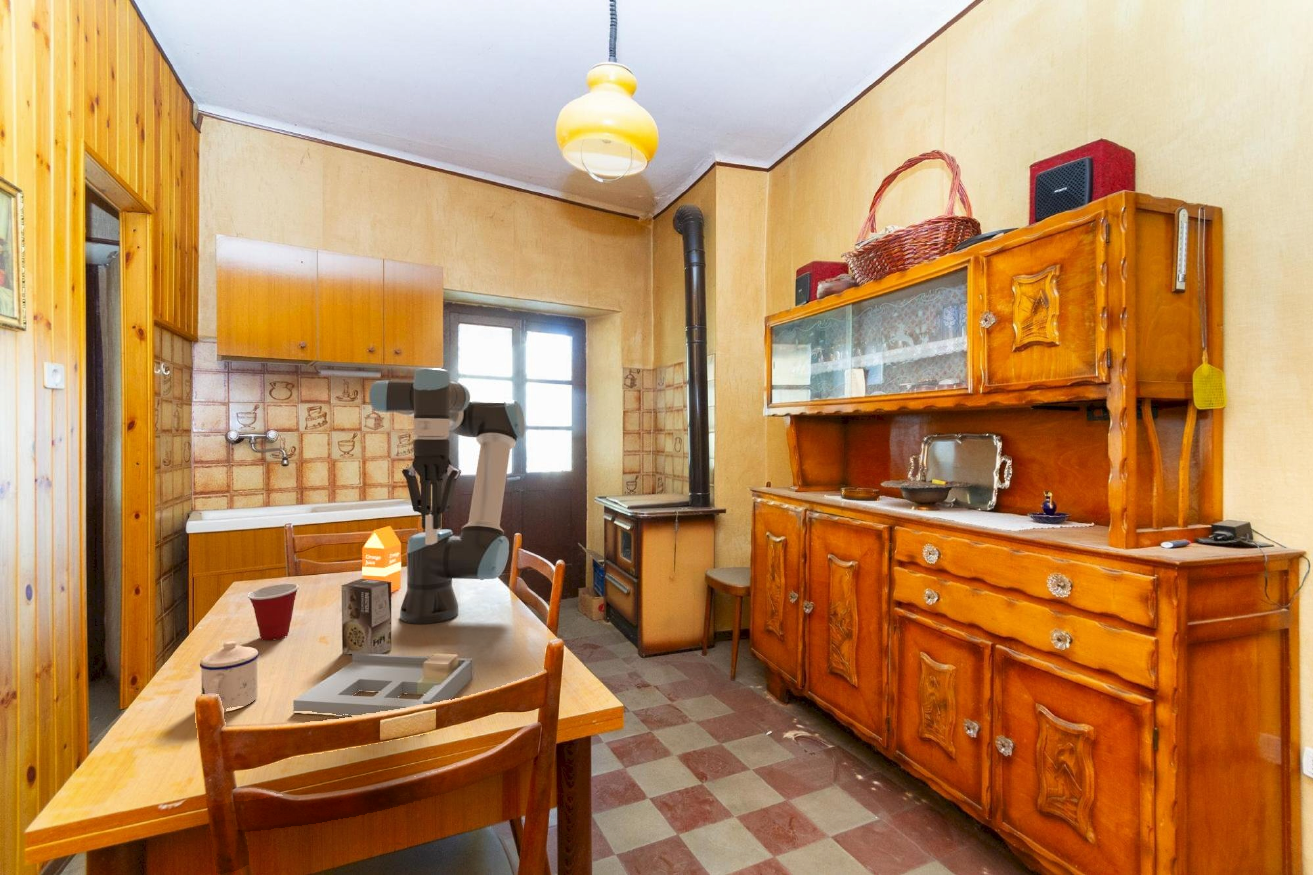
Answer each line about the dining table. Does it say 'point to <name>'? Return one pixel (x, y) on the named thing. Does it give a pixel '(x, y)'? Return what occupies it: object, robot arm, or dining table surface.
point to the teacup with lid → (231, 674)
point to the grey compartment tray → (381, 685)
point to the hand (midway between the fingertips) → (431, 543)
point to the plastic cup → (273, 609)
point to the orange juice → (382, 557)
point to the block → (440, 666)
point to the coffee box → (366, 617)
